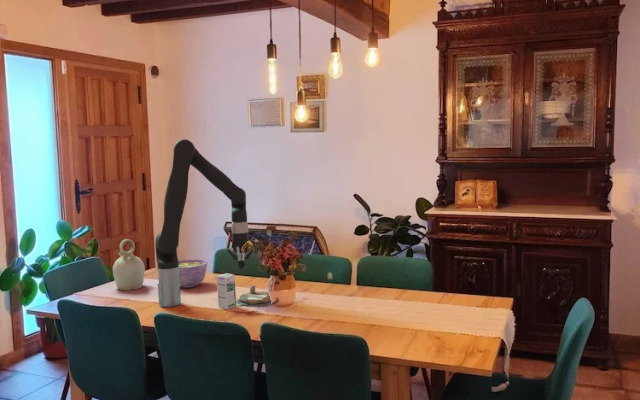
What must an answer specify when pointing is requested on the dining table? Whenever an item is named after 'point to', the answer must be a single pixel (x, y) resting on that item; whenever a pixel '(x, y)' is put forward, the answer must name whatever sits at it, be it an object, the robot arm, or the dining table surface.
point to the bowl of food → (191, 272)
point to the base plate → (252, 304)
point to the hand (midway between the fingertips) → (242, 268)
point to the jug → (128, 269)
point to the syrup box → (226, 291)
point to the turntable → (255, 297)
